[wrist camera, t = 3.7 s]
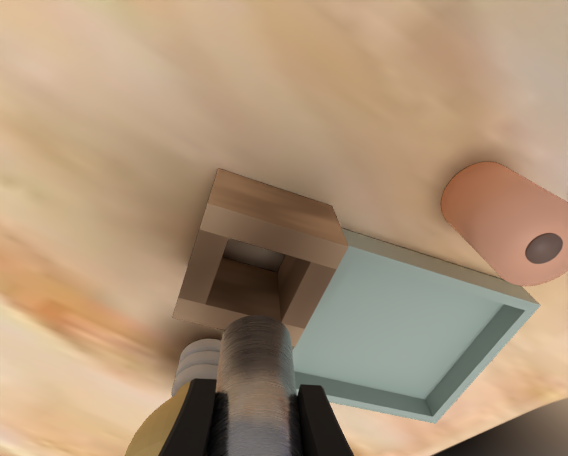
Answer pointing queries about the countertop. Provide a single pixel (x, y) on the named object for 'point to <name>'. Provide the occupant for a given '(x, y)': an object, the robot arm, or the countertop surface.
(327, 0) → the countertop surface
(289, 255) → the walnut block
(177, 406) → the light bulb
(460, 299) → the tray
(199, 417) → the robot arm
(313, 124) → the countertop surface
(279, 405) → the cylinder
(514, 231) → the terracotta round
